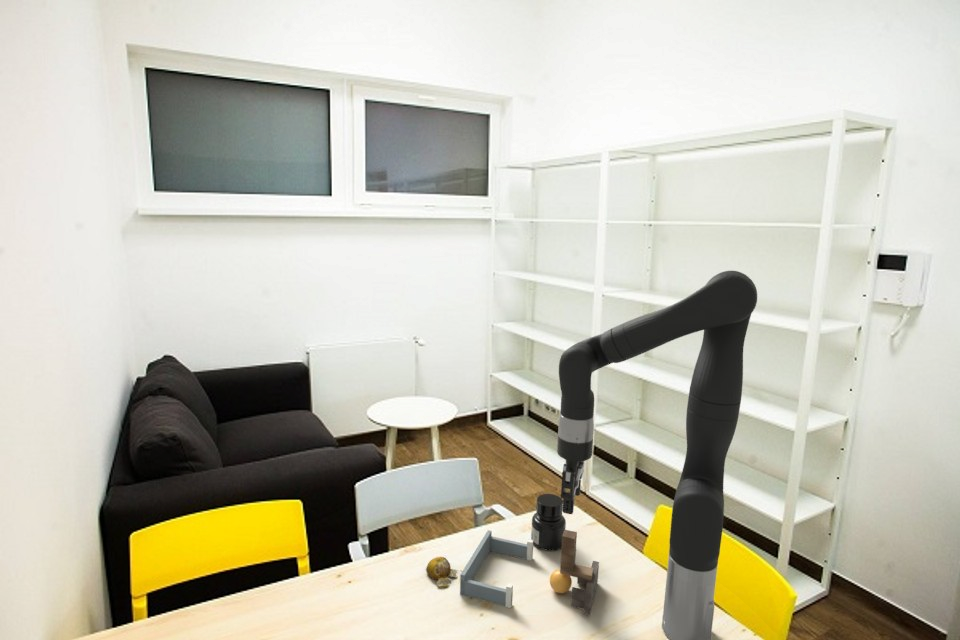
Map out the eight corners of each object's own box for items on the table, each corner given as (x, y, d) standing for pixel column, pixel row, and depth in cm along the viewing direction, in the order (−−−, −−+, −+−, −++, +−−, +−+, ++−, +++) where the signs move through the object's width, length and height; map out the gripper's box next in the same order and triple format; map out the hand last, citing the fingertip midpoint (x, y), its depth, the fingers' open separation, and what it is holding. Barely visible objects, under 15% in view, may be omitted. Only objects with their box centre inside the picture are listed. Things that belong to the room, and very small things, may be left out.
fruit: (444, 592, 124) (444, 578, 123) (417, 577, 129) (417, 563, 128) (466, 574, 130) (467, 560, 130) (440, 560, 135) (440, 547, 135)
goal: (532, 558, 137) (533, 540, 136) (510, 608, 119) (511, 587, 118) (487, 547, 141) (488, 529, 140) (459, 594, 123) (460, 574, 122)
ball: (572, 586, 126) (574, 567, 125) (568, 600, 122) (570, 580, 121) (551, 581, 128) (552, 562, 127) (546, 595, 123) (548, 575, 122)
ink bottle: (535, 528, 150) (537, 488, 147) (567, 535, 147) (570, 494, 145) (527, 548, 141) (528, 505, 138) (560, 555, 138) (563, 512, 136)
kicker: (597, 581, 128) (601, 526, 125) (589, 615, 117) (594, 555, 114) (565, 573, 130) (568, 519, 128) (554, 606, 119) (557, 547, 116)
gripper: (587, 450, 109) (583, 523, 112) (597, 425, 122) (593, 491, 125) (551, 444, 112) (547, 516, 115) (564, 420, 125) (561, 485, 128)
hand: (571, 503), depth 120 cm, fingers open, 8 cm apart
